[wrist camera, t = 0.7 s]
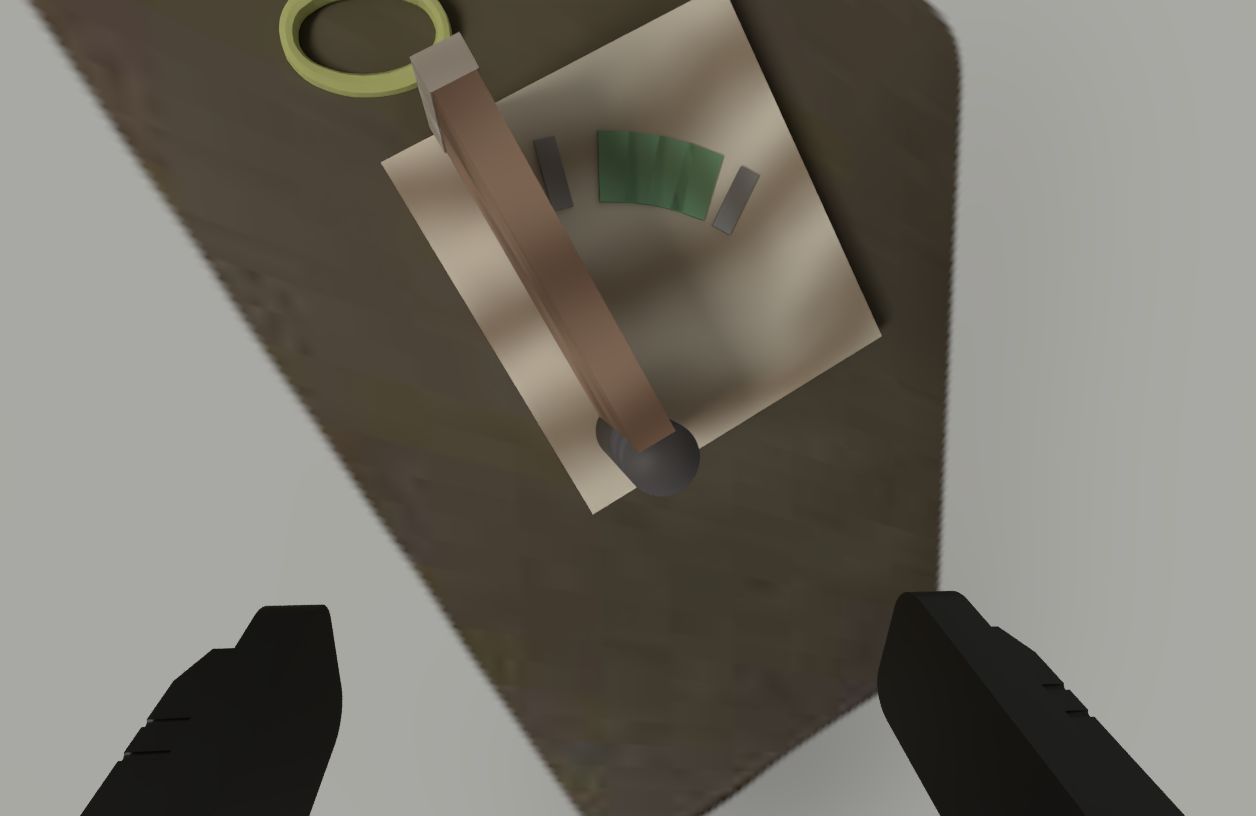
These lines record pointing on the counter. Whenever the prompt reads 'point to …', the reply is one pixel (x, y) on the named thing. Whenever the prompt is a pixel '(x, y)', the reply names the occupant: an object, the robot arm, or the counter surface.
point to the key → (348, 84)
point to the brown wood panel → (552, 271)
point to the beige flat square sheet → (657, 235)
